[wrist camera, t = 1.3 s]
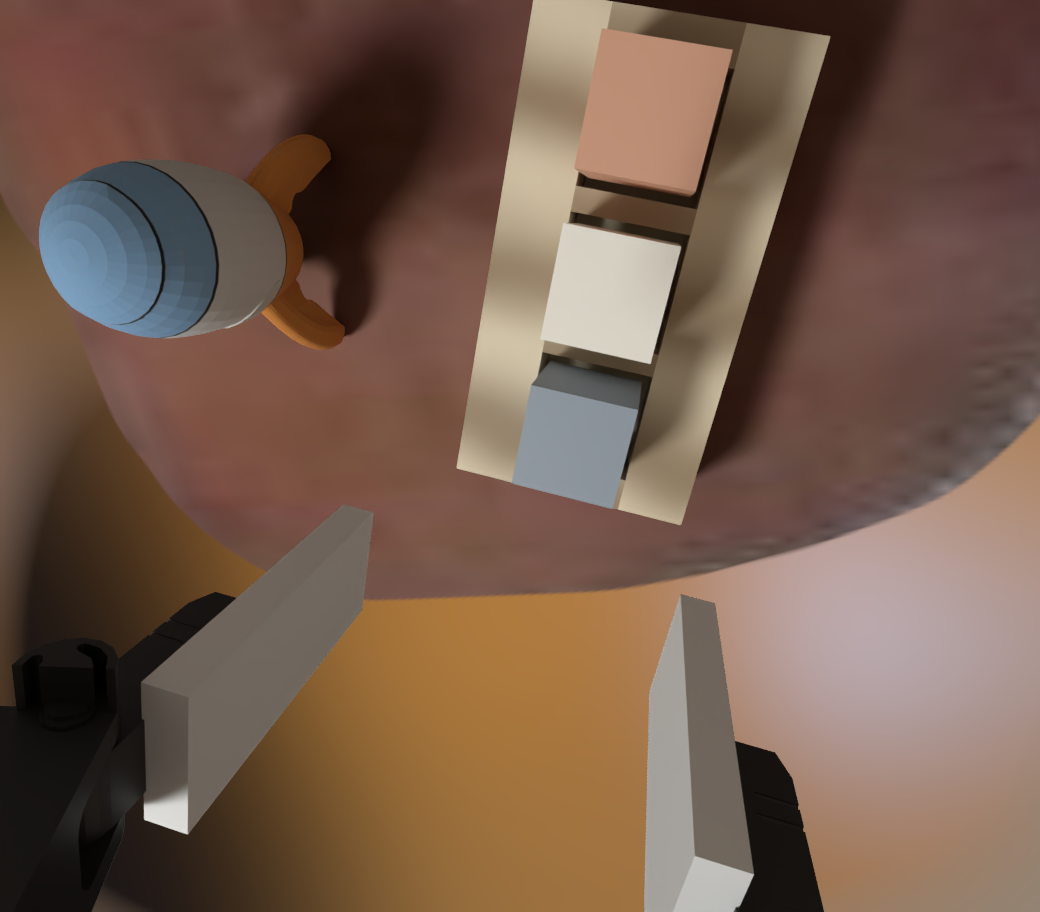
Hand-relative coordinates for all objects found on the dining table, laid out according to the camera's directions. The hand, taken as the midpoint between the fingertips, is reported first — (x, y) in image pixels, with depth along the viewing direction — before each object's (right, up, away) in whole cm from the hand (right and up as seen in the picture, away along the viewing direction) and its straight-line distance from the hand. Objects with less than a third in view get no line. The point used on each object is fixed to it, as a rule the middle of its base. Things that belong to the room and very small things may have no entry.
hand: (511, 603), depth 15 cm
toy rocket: (-13, +15, +21) cm, 29 cm away
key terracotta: (+5, +16, +11) cm, 20 cm away
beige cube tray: (+5, +12, +17) cm, 22 cm away
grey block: (+3, +5, +15) cm, 17 cm away
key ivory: (+4, +11, +13) cm, 18 cm away
